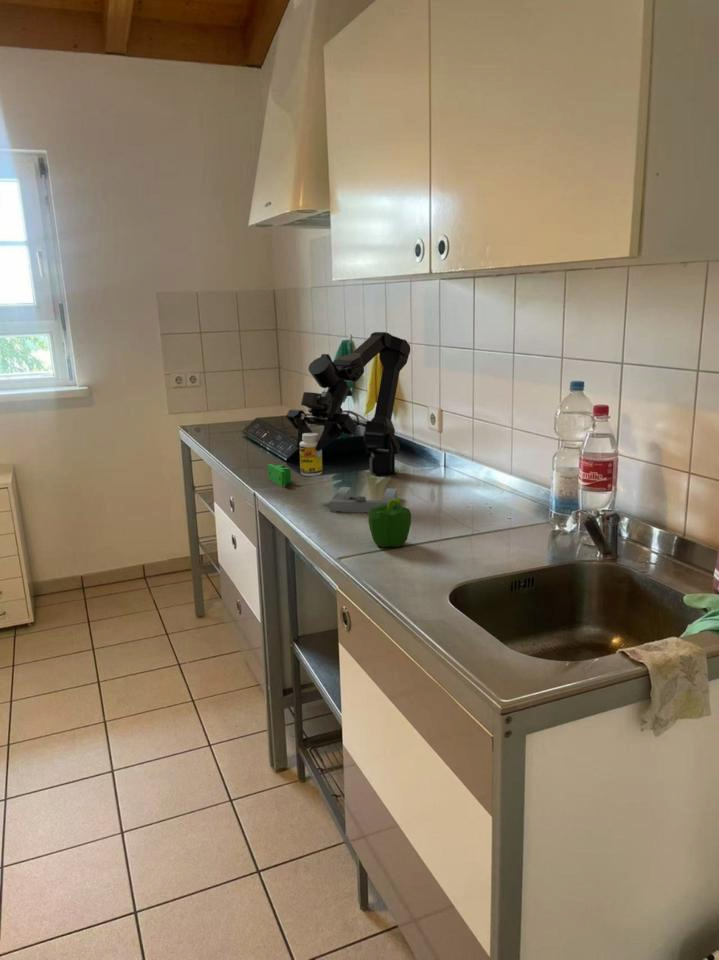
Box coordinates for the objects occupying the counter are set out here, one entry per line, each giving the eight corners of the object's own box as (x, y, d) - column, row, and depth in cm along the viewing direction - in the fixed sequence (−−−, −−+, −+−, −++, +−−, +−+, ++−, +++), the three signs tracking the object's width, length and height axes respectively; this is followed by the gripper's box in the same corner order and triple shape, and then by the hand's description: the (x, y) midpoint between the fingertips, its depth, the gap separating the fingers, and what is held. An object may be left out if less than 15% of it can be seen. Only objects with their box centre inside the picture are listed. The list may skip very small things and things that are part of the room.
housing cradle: (341, 496, 187) (340, 484, 186) (397, 498, 184) (397, 485, 184) (330, 511, 173) (329, 498, 172) (390, 513, 171) (390, 500, 170)
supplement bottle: (296, 474, 182) (294, 434, 180) (309, 470, 187) (308, 431, 184) (313, 477, 179) (312, 436, 177) (327, 473, 184) (325, 433, 181)
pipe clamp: (294, 486, 199) (294, 470, 198) (282, 488, 198) (281, 471, 196) (280, 478, 209) (280, 462, 208) (268, 479, 207) (267, 463, 206)
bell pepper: (361, 542, 150) (361, 495, 148) (395, 536, 154) (395, 490, 152) (382, 554, 143) (382, 505, 141) (417, 546, 147) (417, 499, 145)
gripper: (288, 378, 186) (262, 427, 179) (348, 381, 175) (323, 433, 169) (308, 404, 194) (284, 452, 188) (367, 409, 184) (343, 459, 177)
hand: (307, 449), depth 180 cm, fingers closed on supplement bottle, 6 cm apart
